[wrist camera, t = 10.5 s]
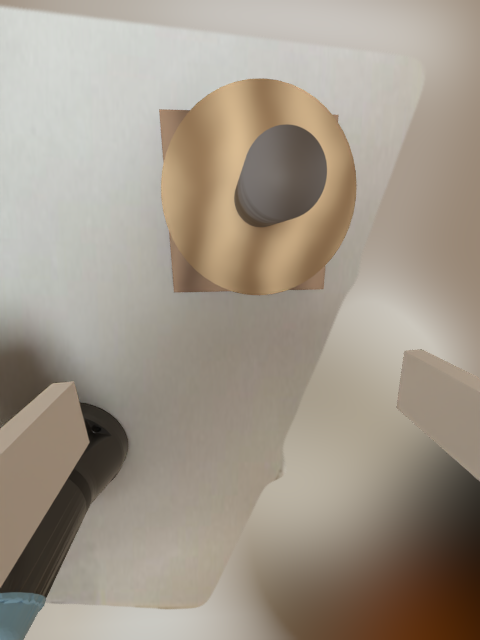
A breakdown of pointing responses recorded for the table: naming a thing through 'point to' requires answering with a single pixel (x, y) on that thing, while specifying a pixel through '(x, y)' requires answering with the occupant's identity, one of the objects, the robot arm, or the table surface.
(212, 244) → the lid
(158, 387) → the table surface
